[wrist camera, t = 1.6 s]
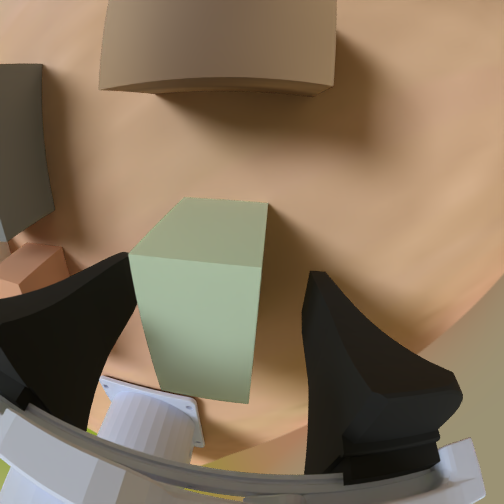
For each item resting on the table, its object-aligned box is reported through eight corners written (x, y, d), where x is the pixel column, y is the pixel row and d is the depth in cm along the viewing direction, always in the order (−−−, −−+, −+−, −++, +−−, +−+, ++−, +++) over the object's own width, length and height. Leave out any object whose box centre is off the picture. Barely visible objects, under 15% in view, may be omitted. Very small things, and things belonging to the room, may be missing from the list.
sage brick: (257, 319, 14) (248, 404, 9) (191, 311, 14) (161, 390, 9) (268, 202, 11) (261, 267, 6) (184, 196, 11) (128, 253, 7)
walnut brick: (316, 18, 7) (336, -27, 4) (312, 97, 9) (333, 85, 5) (161, 20, 8) (111, -12, 4) (155, 94, 9) (98, 89, 6)
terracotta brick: (88, 326, 16) (59, 369, 12) (54, 316, 16) (24, 353, 12) (63, 246, 13) (18, 284, 9) (28, 241, 13) (-13, 274, 10)
